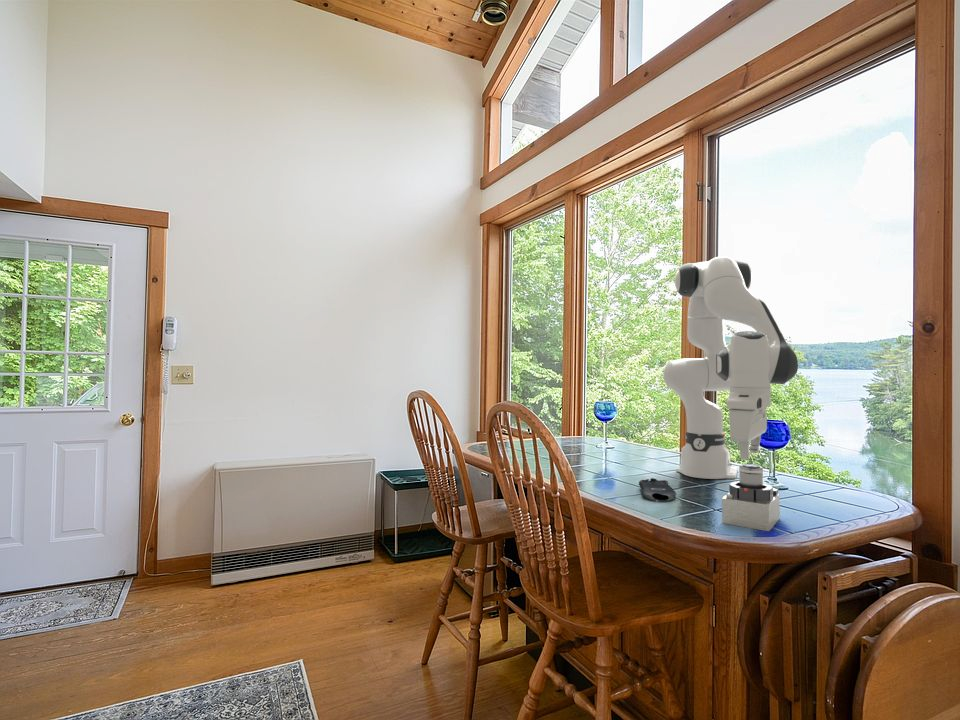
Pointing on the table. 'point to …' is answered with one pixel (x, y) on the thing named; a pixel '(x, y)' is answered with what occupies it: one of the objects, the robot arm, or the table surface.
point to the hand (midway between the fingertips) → (750, 455)
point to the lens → (751, 476)
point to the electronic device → (656, 489)
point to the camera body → (751, 507)
